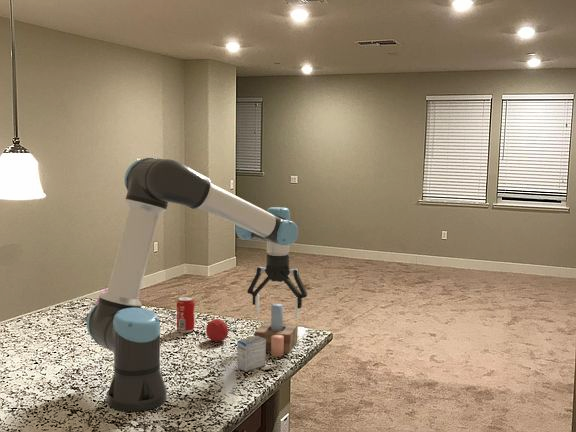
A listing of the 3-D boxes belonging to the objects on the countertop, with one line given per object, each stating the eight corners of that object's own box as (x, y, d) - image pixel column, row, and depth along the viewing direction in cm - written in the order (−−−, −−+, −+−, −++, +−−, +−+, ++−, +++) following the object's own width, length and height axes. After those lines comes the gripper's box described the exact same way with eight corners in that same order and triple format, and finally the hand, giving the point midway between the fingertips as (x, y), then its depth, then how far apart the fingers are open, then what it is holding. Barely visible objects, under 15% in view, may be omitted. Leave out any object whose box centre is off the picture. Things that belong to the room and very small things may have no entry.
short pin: (281, 357, 200) (282, 339, 199) (269, 356, 201) (270, 338, 200) (284, 353, 204) (284, 335, 203) (272, 352, 205) (273, 334, 204)
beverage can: (197, 330, 227) (198, 298, 225) (186, 334, 222) (186, 301, 220) (184, 327, 230) (184, 295, 229) (173, 331, 225) (173, 298, 224)
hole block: (289, 352, 204) (290, 334, 204) (254, 349, 207) (254, 331, 206) (297, 341, 216) (297, 324, 215) (263, 338, 219) (263, 321, 218)
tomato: (208, 319, 210) (225, 311, 216) (198, 329, 215) (214, 320, 221) (221, 339, 208) (237, 331, 214) (210, 349, 214) (226, 340, 219)
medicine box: (256, 362, 195) (256, 335, 194) (265, 365, 192) (266, 338, 191) (236, 368, 189) (237, 340, 189) (246, 372, 186) (246, 343, 185)
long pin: (281, 347, 209) (281, 307, 207) (269, 346, 210) (270, 306, 208) (283, 344, 213) (284, 304, 211) (272, 343, 214) (273, 303, 212)
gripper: (316, 253, 209) (315, 315, 211) (245, 249, 214) (244, 310, 217) (312, 257, 202) (311, 321, 204) (238, 253, 207) (238, 315, 209)
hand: (276, 316), depth 210 cm, fingers open, 13 cm apart
